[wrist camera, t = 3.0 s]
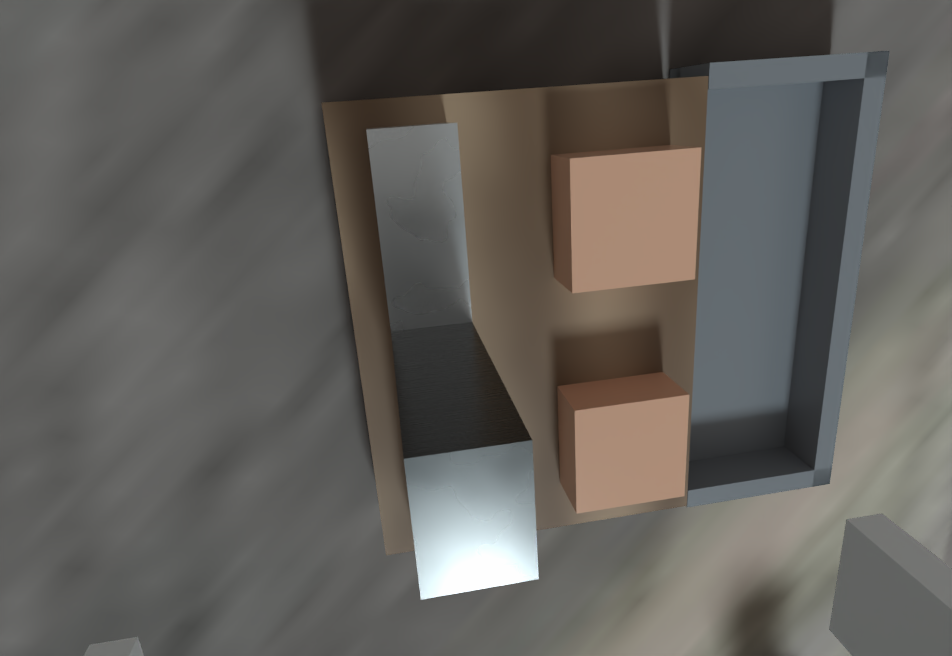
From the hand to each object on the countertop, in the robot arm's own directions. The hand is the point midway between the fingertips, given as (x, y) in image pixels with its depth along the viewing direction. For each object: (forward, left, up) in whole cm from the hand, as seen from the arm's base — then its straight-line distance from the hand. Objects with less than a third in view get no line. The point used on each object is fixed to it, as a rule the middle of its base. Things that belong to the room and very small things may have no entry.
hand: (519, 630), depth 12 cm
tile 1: (+8, -5, -16) cm, 18 cm away
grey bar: (0, 0, -16) cm, 16 cm away
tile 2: (+8, +5, -16) cm, 18 cm away
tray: (+16, 0, -20) cm, 25 cm away
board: (+4, 0, -20) cm, 20 cm away
